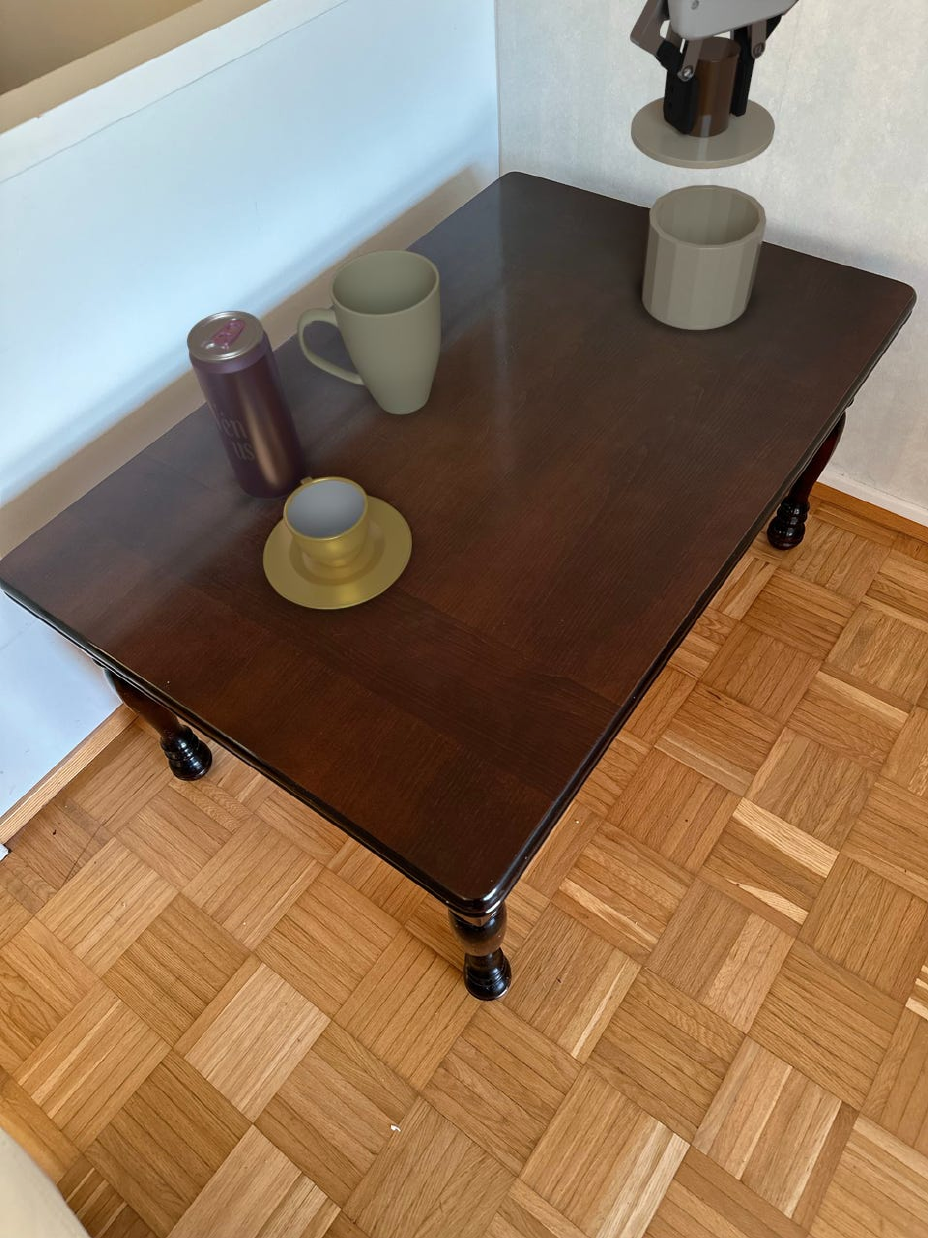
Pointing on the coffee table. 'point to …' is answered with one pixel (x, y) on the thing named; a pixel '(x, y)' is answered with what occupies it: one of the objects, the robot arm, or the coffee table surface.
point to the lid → (707, 118)
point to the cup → (335, 545)
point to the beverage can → (248, 403)
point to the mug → (385, 326)
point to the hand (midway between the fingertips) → (704, 115)
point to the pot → (701, 256)
